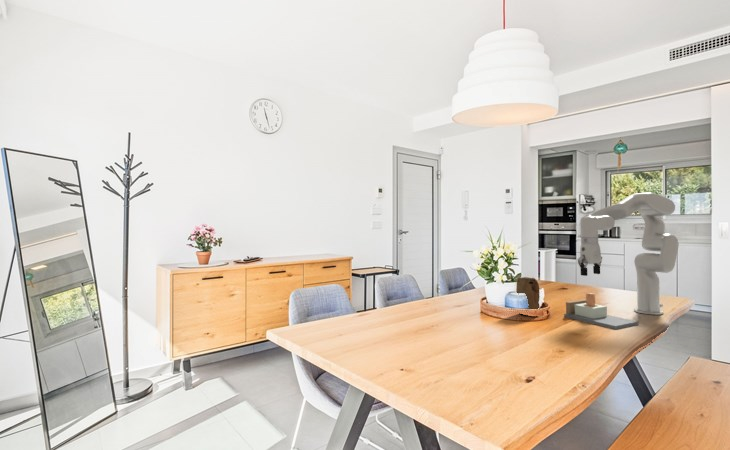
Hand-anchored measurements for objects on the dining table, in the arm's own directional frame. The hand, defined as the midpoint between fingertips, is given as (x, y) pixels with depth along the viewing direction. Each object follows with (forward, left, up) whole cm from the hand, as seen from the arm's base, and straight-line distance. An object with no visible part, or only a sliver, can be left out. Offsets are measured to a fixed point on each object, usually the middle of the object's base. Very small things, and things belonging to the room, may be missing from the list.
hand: (590, 274), depth 190 cm
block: (+22, -19, -22) cm, 37 cm away
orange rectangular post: (0, 0, -20) cm, 20 cm away
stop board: (0, +5, -22) cm, 23 cm away
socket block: (0, 0, -21) cm, 21 cm away
